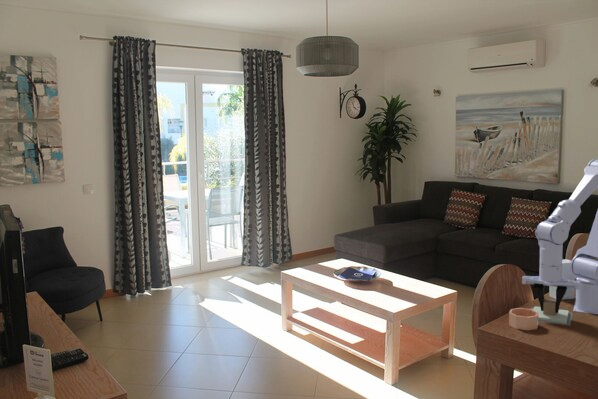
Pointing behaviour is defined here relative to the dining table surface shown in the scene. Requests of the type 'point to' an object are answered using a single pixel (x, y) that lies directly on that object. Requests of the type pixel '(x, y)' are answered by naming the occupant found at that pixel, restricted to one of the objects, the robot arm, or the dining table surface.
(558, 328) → the dining table surface
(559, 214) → the robot arm
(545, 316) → the sage lid
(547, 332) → the dining table surface
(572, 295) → the skincare box
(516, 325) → the terracotta bowl
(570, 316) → the grey mat
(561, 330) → the dining table surface
